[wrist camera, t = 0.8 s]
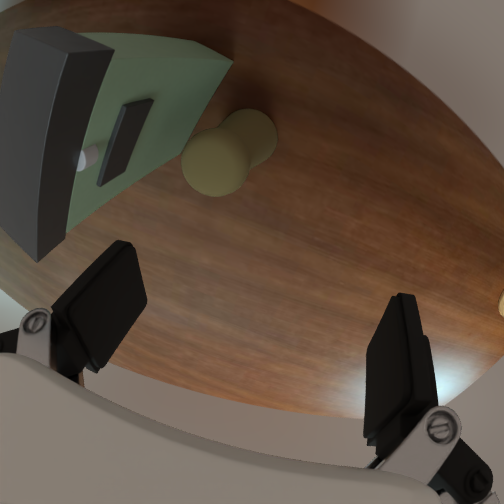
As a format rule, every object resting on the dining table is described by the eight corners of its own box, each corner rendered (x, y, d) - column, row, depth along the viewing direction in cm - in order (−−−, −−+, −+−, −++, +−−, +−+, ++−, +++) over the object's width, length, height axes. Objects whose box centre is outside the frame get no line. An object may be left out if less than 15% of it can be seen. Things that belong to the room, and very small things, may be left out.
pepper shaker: (242, 96, 26) (195, 110, 17) (290, 134, 27) (267, 166, 19) (209, 140, 30) (155, 174, 21) (253, 175, 31) (217, 224, 22)
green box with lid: (196, 36, 23) (14, 30, 7) (240, 59, 24) (75, 56, 7) (146, 135, 31) (-5, 222, 14) (182, 159, 32) (42, 268, 15)
